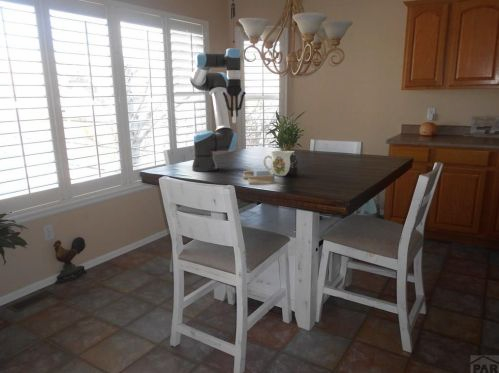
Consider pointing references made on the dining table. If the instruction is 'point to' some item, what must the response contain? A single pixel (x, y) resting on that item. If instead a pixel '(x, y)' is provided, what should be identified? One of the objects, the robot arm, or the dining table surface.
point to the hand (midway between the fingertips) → (234, 122)
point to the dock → (258, 178)
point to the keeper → (261, 172)
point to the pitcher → (279, 162)
